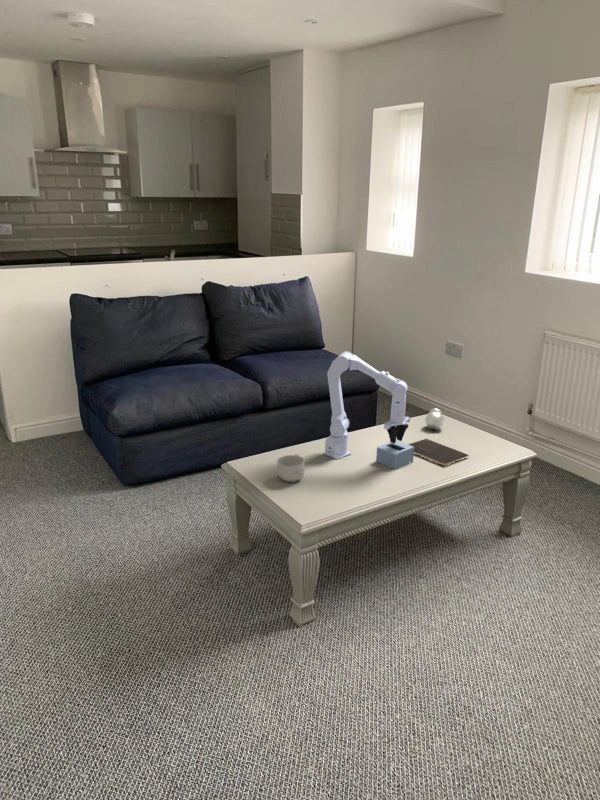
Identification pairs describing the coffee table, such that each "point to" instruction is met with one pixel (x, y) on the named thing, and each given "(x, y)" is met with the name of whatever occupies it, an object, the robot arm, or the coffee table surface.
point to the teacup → (291, 467)
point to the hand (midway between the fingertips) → (396, 441)
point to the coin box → (395, 454)
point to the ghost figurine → (434, 419)
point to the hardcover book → (437, 452)
